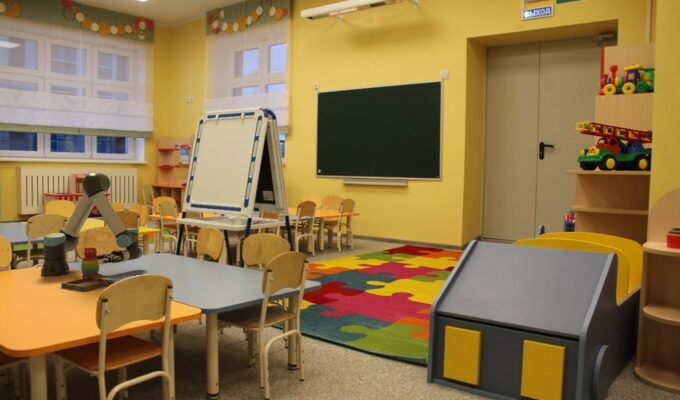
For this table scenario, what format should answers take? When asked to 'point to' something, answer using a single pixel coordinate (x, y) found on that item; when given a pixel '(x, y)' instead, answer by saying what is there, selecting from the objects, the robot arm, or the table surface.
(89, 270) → the stacking bear
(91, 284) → the dark brown square tray
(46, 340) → the table surface
